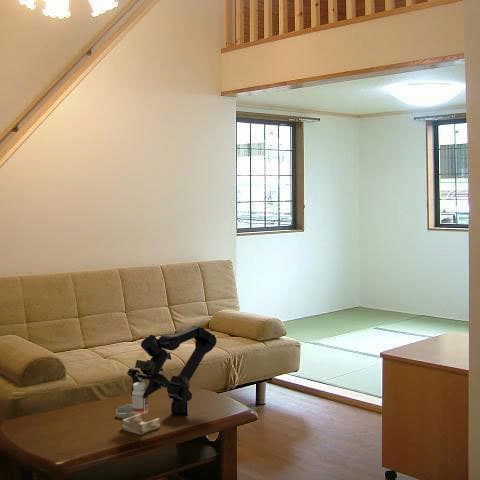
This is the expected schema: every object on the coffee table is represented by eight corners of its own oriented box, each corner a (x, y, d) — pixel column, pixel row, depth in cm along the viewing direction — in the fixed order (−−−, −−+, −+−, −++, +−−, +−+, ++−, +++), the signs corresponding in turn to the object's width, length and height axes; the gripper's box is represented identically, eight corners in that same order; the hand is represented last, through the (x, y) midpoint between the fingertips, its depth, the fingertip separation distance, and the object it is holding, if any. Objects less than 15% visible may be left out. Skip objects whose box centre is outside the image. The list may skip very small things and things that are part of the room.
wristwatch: (139, 415, 282) (139, 403, 282) (134, 420, 276) (133, 408, 276) (119, 413, 284) (119, 402, 284) (113, 418, 278) (113, 406, 278)
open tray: (140, 422, 273) (140, 413, 273) (159, 427, 267) (159, 418, 266) (121, 429, 264) (121, 420, 264) (140, 434, 258) (140, 425, 258)
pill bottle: (143, 408, 270) (143, 380, 269) (151, 412, 265) (150, 384, 264) (129, 411, 266) (129, 383, 265) (137, 415, 261) (136, 386, 260)
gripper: (129, 348, 272) (109, 381, 264) (163, 354, 261) (143, 389, 253) (144, 363, 279) (125, 396, 271) (177, 370, 268) (158, 404, 260)
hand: (137, 396), depth 264 cm, fingers closed on pill bottle, 6 cm apart
